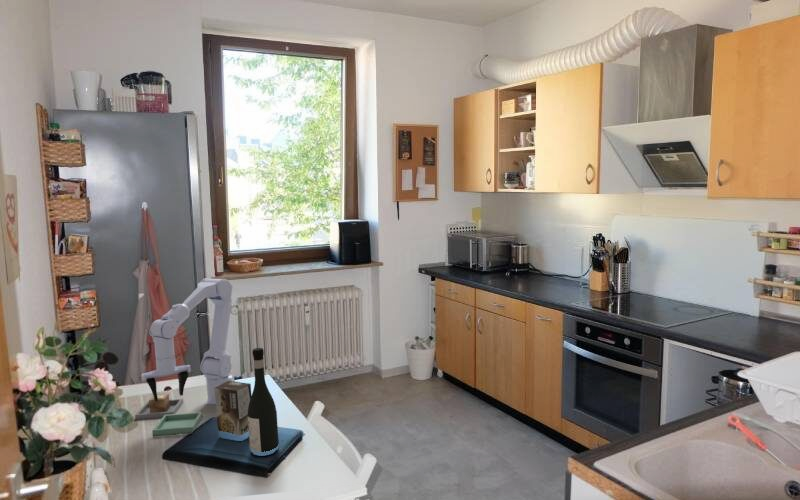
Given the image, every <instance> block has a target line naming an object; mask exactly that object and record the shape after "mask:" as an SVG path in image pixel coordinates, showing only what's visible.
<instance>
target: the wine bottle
mask: <svg viewBox="0 0 800 500" xmlns="http://www.w3.org/2000/svg"><path fill="white" fill-rule="evenodd" d="M264 354H265V353H264V348H262V347H256V348H253V349H252V357H253V369H254V385H253V390H252V392H251V399H250V402H249V406H248V427H249V438H248V440H249V441H248V442H249V449H250V448H251V449H252V450H254V451H258V452H264V451H265V452H266V451H270V450H272V449H274V448H276V447H277V446H278V444H279V445H280V443H279V441H280V439H279V431H278V429H279V427H278V425H279V424H278V412H277V408H276V406H277V405H276V402H275V400H274V398H273V396H272V395H271V394H272V393H271V392H270V391H269V388H268V385H267V383H266V378H265V365H264V362H265V361H264Z"/></svg>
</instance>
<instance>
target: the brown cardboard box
mask: <svg viewBox="0 0 800 500" xmlns="http://www.w3.org/2000/svg"><path fill="white" fill-rule="evenodd" d="M169 395H170V393H160V394H159V393H157V397H158V401H155V400H154V396H153V395H152V396H151V397H150V398H149V399H148V401H149V407H150V413H157V412H167V411H168V409H169V408H170V403H169V400H170V396H169Z"/></svg>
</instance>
